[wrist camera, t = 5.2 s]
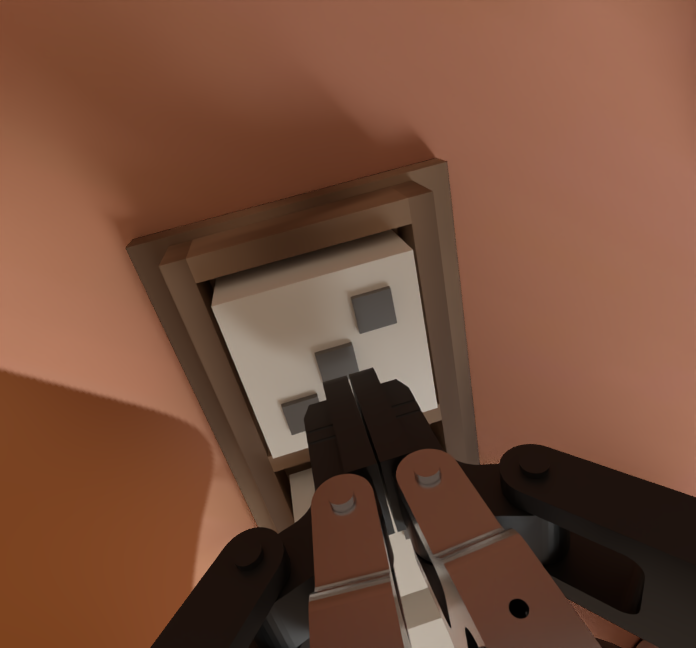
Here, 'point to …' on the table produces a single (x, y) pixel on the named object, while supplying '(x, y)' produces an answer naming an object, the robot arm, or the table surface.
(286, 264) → the tile three
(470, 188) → the table surface
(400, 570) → the tile two
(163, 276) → the board
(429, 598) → the tile one
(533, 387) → the table surface
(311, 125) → the table surface
